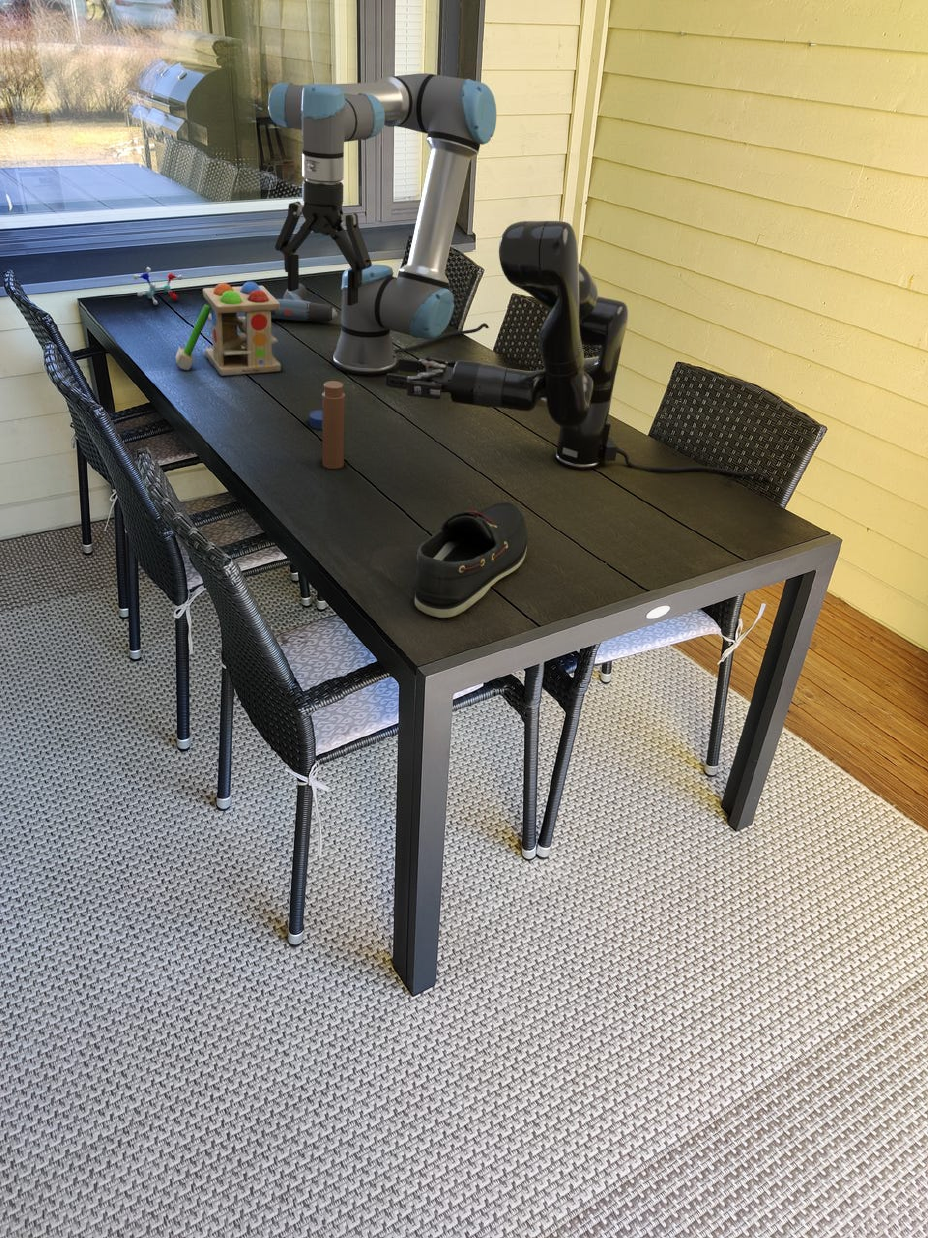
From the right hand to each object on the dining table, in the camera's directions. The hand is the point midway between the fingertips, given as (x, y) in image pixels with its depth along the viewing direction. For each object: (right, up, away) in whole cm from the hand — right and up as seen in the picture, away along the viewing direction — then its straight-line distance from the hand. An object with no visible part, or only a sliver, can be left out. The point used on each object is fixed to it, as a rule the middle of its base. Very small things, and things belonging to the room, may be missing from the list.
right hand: (392, 371), depth 177 cm
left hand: (-15, +18, +15) cm, 28 cm away
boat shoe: (+14, -37, -14) cm, 42 cm away
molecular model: (-70, +42, +88) cm, 120 cm away
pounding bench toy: (-43, +15, +53) cm, 70 cm away
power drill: (-30, +39, +90) cm, 102 cm away
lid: (-17, -2, +28) cm, 33 cm away
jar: (-13, -15, +14) cm, 24 cm away
